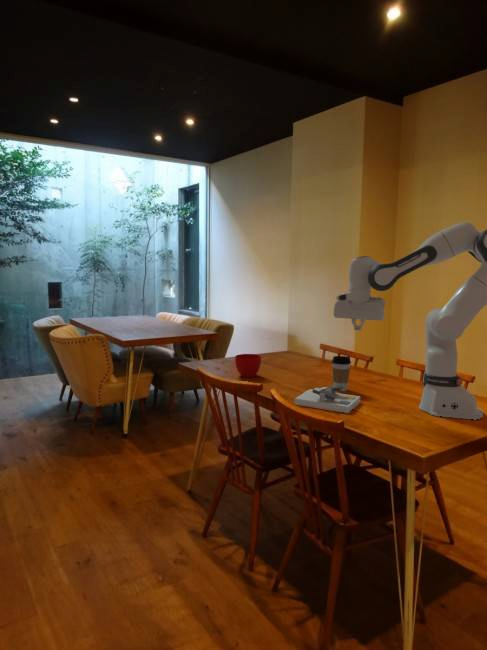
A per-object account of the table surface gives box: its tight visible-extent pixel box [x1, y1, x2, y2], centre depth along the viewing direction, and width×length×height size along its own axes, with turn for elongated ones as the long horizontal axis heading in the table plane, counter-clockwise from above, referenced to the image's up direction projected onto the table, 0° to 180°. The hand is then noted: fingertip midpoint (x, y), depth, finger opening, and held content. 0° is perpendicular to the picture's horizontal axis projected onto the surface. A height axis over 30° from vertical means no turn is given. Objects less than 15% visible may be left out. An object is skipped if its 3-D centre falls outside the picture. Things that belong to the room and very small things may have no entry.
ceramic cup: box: [234, 353, 262, 378], centre depth 232 cm, size 13×17×10 cm
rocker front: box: [312, 387, 337, 401], centre depth 181 cm, size 9×4×1 cm, turn 61°
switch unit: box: [294, 385, 361, 414], centre depth 185 cm, size 22×16×6 cm
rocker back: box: [320, 385, 343, 392], centre depth 188 cm, size 9×4×1 cm, turn 60°
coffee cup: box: [331, 355, 352, 392], centre depth 205 cm, size 8×8×15 cm
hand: (357, 330), depth 188 cm, fingers closed
